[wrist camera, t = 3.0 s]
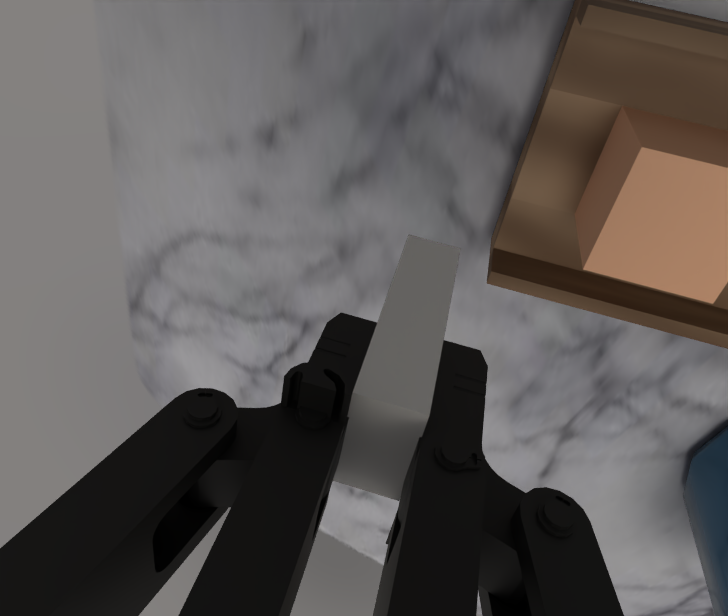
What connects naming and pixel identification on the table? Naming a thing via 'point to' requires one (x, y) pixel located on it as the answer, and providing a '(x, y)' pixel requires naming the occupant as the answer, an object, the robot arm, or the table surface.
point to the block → (659, 206)
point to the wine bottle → (711, 515)
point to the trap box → (585, 144)
